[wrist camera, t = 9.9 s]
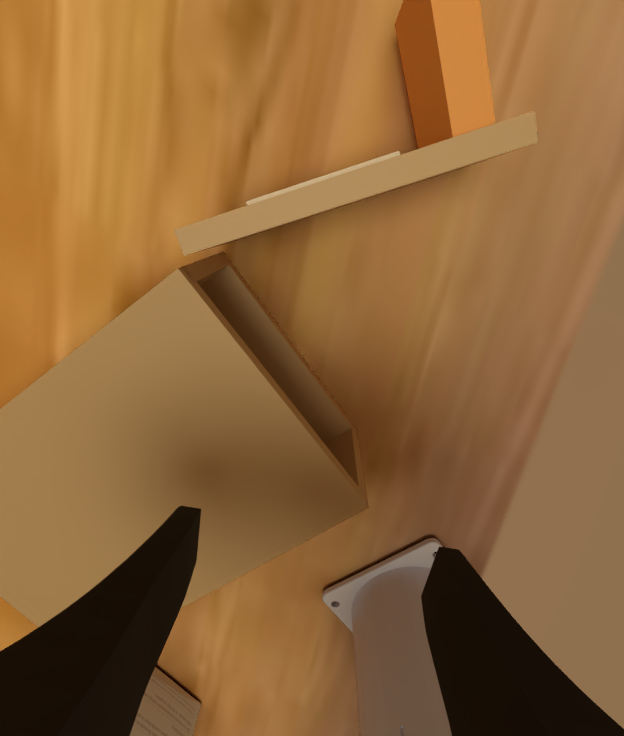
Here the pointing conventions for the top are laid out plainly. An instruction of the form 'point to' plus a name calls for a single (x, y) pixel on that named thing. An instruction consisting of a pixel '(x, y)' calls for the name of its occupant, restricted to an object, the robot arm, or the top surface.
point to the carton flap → (430, 118)
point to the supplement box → (165, 709)
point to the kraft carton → (171, 445)
